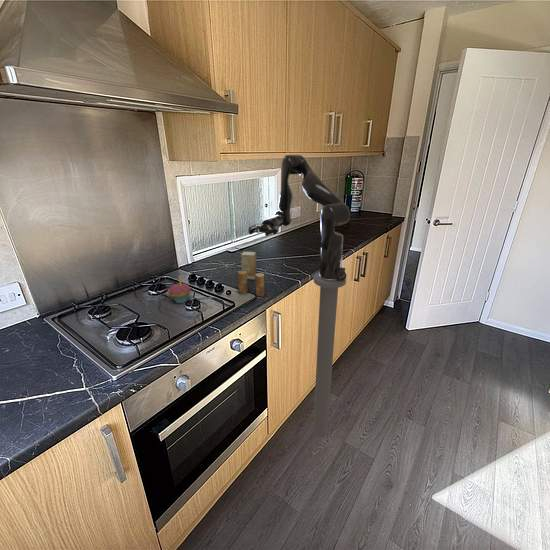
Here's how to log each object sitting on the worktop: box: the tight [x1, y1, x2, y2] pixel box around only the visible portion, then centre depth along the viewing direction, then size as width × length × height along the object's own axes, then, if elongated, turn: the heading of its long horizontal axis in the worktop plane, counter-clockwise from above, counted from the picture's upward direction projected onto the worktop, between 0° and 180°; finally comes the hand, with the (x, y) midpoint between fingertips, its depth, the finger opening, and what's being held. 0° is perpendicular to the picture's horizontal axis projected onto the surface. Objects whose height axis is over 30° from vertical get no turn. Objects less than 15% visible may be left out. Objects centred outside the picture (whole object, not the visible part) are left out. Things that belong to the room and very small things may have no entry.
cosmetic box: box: [240, 251, 257, 280], centre depth 136 cm, size 6×4×12 cm
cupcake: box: [167, 275, 192, 304], centre depth 116 cm, size 9×8×12 cm
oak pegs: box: [237, 270, 266, 297], centre depth 122 cm, size 12×4×9 cm, turn 68°
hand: (257, 233), depth 140 cm, fingers open, 8 cm apart
